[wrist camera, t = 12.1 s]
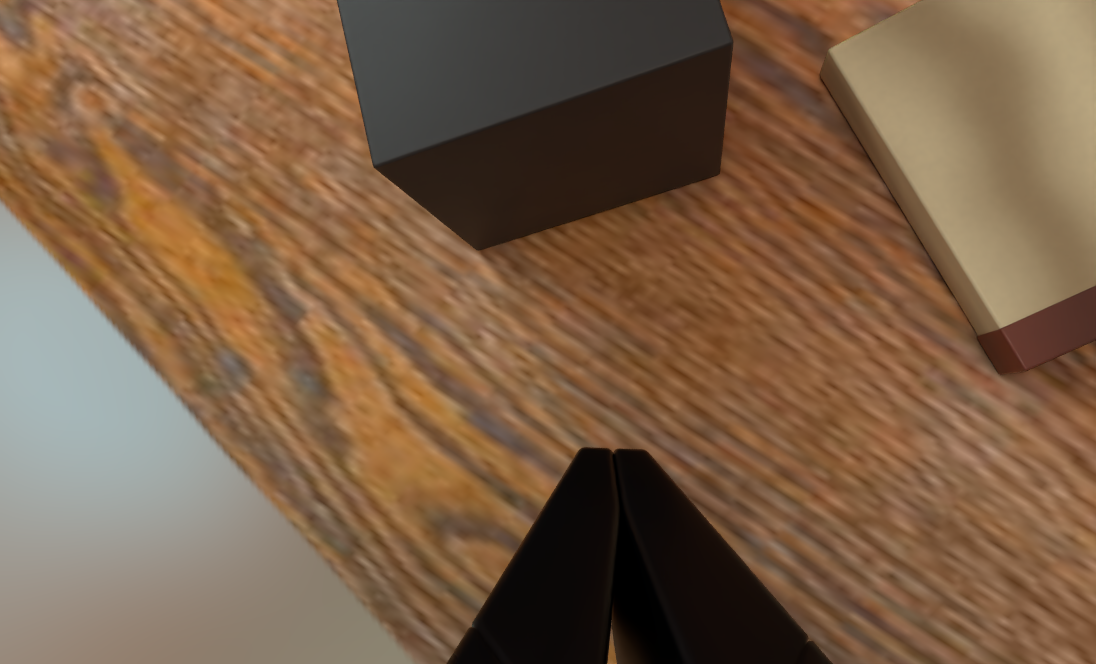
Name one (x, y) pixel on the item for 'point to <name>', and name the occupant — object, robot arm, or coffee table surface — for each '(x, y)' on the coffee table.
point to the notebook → (989, 157)
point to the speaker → (538, 104)
